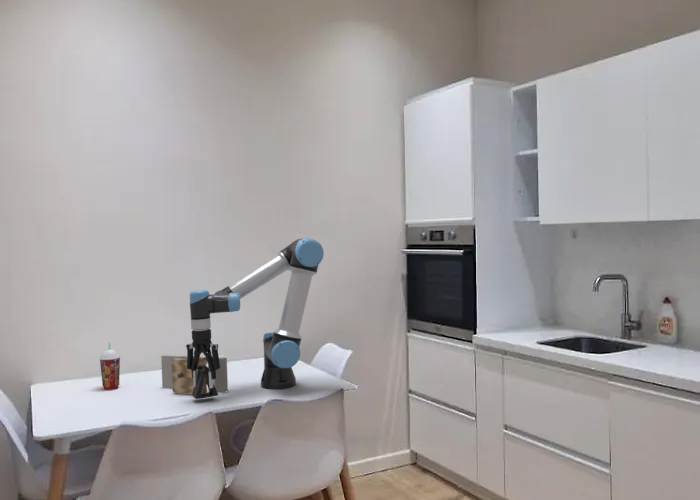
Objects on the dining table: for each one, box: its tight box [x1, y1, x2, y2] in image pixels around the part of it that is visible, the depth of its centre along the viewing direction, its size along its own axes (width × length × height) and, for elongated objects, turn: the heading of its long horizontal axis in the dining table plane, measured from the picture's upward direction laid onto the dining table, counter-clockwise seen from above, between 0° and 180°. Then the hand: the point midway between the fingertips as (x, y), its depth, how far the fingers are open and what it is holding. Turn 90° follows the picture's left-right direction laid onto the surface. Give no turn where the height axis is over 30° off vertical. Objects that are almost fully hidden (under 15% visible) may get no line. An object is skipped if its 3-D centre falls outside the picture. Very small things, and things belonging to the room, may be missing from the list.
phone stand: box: [191, 364, 219, 400], centre depth 248 cm, size 9×6×12 cm, turn 118°
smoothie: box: [99, 342, 121, 391], centre depth 274 cm, size 8×8×20 cm
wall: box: [160, 354, 229, 393], centre depth 267 cm, size 32×2×14 cm, turn 68°
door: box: [172, 356, 208, 395], centre depth 258 cm, size 16×3×15 cm, turn 69°
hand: (204, 386), depth 248 cm, fingers closed on phone stand, 6 cm apart
